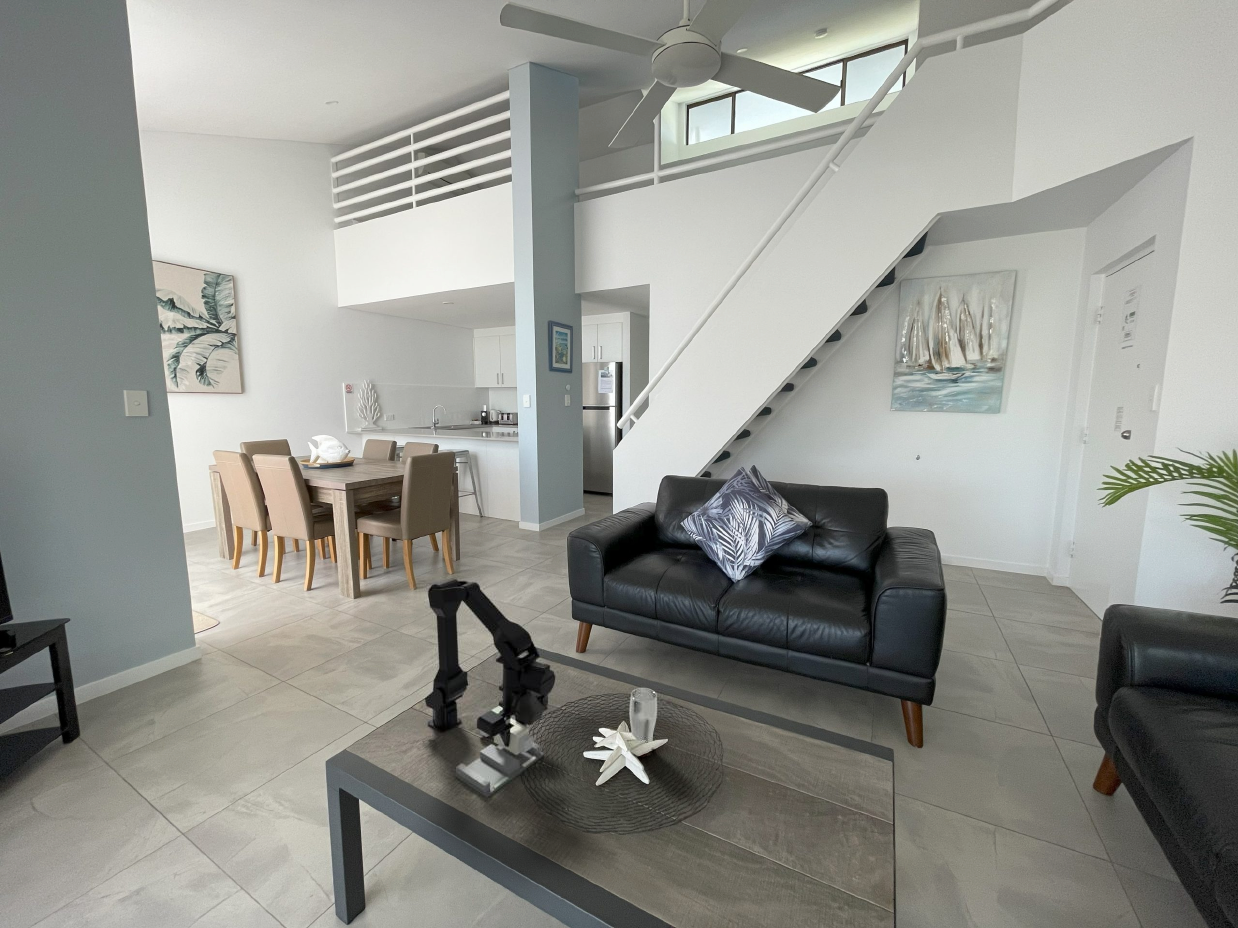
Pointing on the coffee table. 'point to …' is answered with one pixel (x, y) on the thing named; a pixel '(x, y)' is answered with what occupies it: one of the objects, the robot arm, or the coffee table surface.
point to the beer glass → (643, 713)
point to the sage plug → (497, 713)
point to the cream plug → (517, 738)
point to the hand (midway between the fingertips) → (513, 741)
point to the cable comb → (496, 768)
